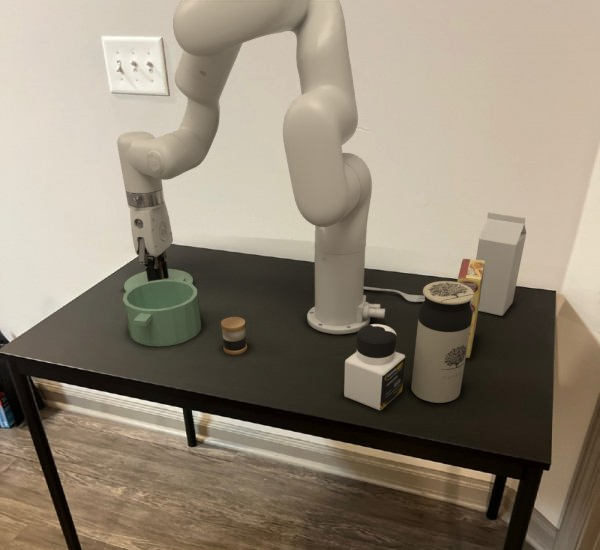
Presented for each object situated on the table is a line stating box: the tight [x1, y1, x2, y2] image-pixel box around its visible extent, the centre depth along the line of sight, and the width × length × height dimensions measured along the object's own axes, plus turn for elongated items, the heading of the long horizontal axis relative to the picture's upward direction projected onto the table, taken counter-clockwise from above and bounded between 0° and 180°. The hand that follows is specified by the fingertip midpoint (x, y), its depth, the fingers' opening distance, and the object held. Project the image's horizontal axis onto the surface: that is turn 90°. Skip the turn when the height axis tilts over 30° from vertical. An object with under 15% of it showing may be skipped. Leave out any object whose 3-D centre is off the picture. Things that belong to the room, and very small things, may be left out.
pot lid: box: [123, 261, 194, 293], centre depth 134 cm, size 15×15×6 cm
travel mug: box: [410, 280, 474, 404], centre depth 95 cm, size 8×8×18 cm
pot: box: [122, 277, 202, 347], centre depth 118 cm, size 14×19×8 cm
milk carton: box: [475, 212, 527, 317], centre depth 121 cm, size 7×7×19 cm
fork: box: [363, 285, 425, 303], centre depth 131 cm, size 3×24×2 cm, turn 63°
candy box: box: [456, 258, 485, 359], centre depth 108 cm, size 9×4×15 cm, turn 162°
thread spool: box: [220, 316, 248, 356], centre depth 112 cm, size 4×4×6 cm
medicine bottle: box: [343, 323, 406, 411], centre depth 97 cm, size 7×7×12 cm
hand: (158, 280), depth 135 cm, fingers closed on pot lid, 2 cm apart
